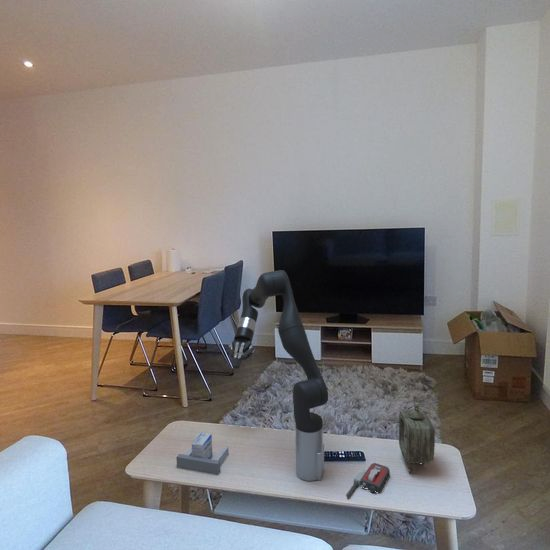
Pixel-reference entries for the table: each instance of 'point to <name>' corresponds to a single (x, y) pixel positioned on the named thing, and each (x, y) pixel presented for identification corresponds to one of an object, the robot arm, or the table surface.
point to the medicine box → (202, 446)
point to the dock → (202, 462)
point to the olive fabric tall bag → (416, 436)
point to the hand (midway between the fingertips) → (235, 368)
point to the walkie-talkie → (371, 478)
